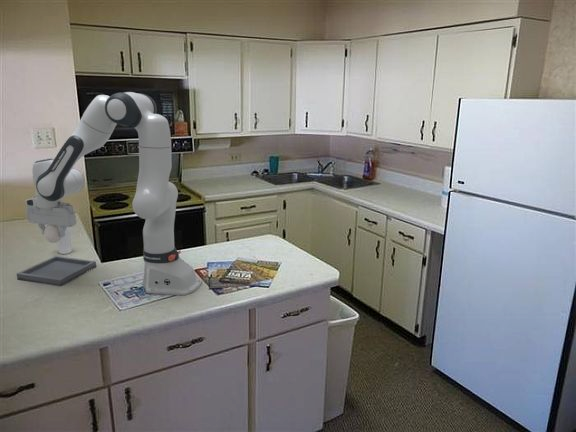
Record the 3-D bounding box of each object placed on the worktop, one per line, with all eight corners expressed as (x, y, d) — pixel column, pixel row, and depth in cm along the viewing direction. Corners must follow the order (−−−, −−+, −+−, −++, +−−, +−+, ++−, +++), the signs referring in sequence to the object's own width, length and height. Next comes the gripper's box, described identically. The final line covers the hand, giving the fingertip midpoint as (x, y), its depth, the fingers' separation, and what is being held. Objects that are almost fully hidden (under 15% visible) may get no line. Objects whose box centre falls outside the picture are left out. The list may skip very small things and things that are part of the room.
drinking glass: (67, 255, 194) (63, 223, 190) (53, 254, 195) (49, 222, 191) (77, 250, 200) (73, 219, 196) (64, 249, 202) (60, 218, 198)
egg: (58, 238, 177) (56, 219, 174) (66, 242, 173) (64, 223, 171) (42, 242, 172) (39, 223, 170) (49, 246, 168) (47, 226, 166)
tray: (96, 266, 183) (95, 261, 182) (60, 286, 164) (60, 280, 163) (56, 261, 188) (55, 255, 187) (17, 279, 169) (16, 273, 168)
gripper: (78, 201, 168) (81, 235, 172) (34, 197, 173) (38, 230, 177) (66, 205, 162) (70, 240, 166) (21, 200, 167) (26, 234, 171)
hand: (53, 235), depth 172 cm, fingers closed on egg, 6 cm apart
